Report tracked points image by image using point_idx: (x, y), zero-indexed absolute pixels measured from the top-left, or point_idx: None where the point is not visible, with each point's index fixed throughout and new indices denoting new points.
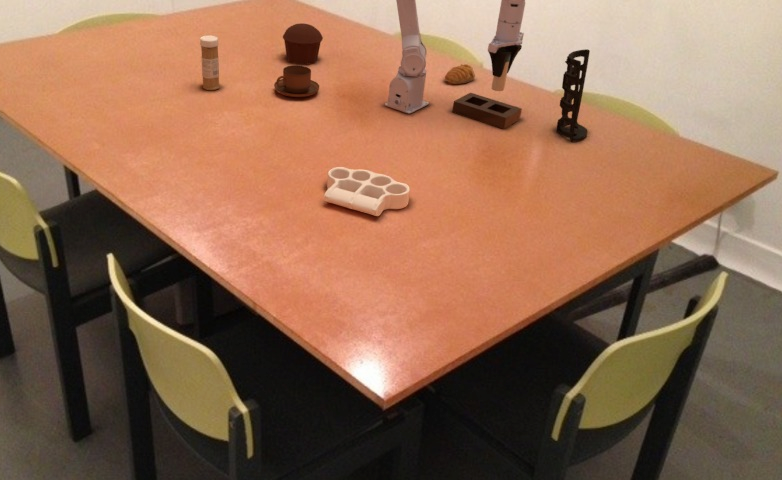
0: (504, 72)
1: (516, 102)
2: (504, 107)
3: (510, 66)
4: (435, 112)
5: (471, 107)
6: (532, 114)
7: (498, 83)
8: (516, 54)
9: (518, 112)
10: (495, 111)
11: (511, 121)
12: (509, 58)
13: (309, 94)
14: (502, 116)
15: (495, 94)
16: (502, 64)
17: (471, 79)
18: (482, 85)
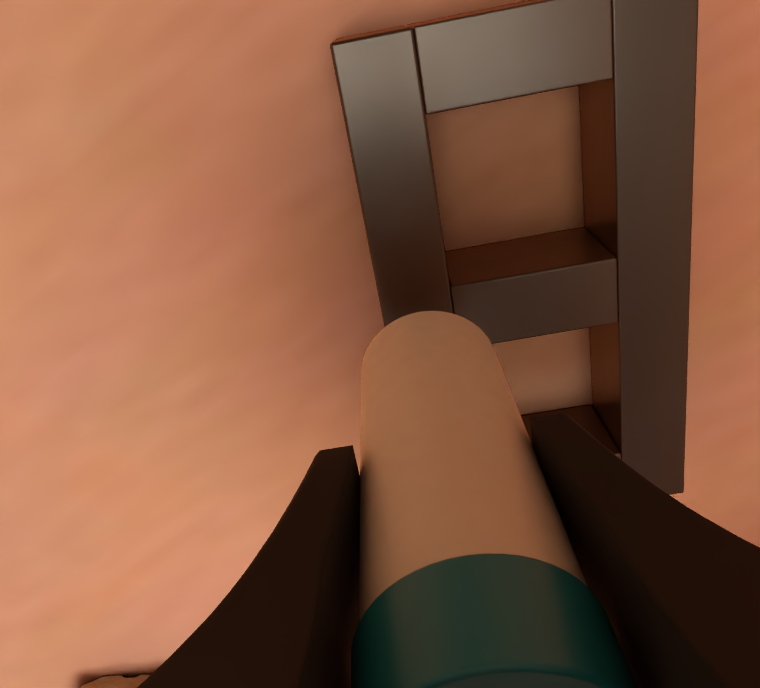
0: (493, 436)
1: (68, 307)
2: (435, 189)
3: (312, 500)
4: (735, 489)
5: (684, 348)
6: (126, 48)
7: (504, 381)
8: (194, 658)
9: (400, 28)
10: (622, 160)
11: (521, 2)
12: (475, 607)
13: None
14: (690, 24)
15: (114, 481)
16: (714, 524)
17: (107, 685)
18: (86, 609)
